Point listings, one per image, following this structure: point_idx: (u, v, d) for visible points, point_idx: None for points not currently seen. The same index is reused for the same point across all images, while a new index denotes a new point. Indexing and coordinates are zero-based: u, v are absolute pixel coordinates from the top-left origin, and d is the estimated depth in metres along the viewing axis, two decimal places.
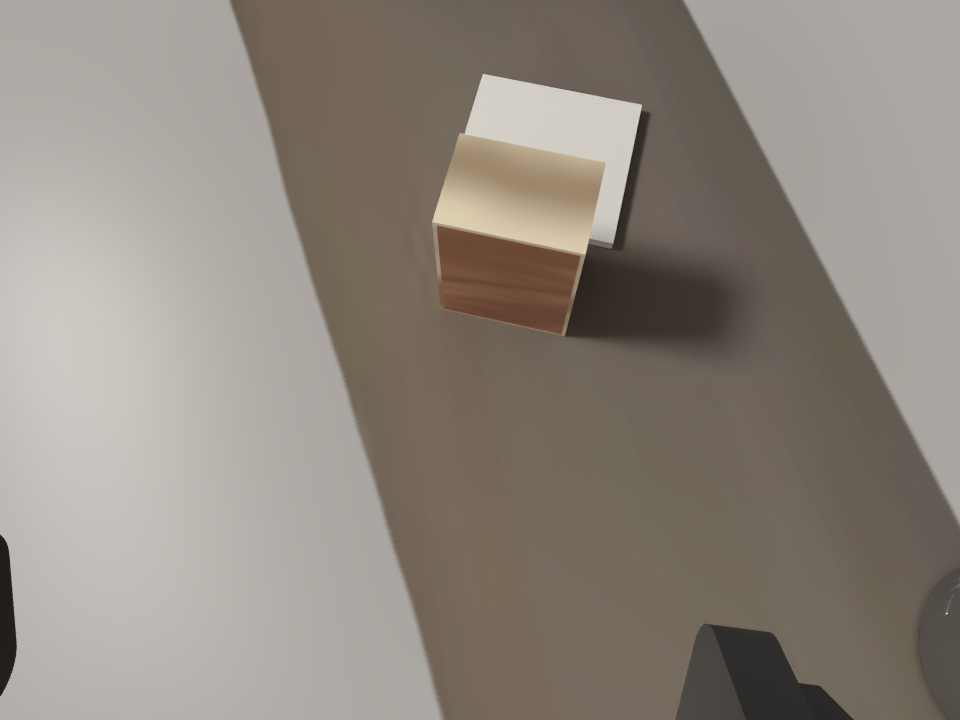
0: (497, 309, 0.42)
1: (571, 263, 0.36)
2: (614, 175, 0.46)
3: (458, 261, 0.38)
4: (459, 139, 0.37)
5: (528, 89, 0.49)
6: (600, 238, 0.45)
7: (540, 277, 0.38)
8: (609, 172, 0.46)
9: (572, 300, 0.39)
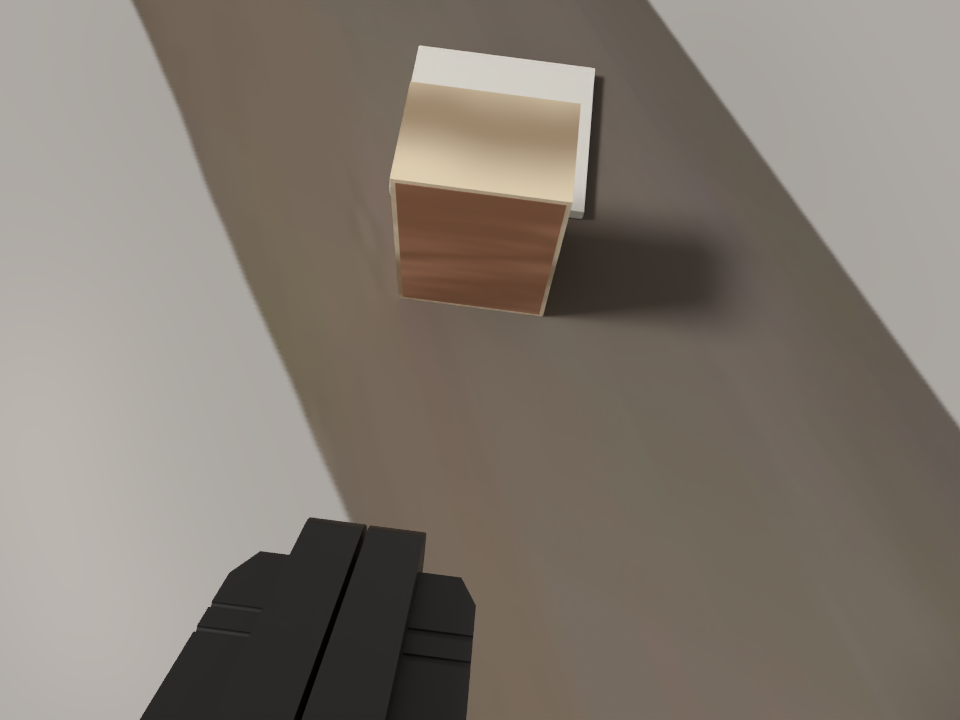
0: (466, 290, 0.37)
1: (555, 217, 0.31)
2: None
3: (420, 230, 0.33)
4: (411, 88, 0.32)
5: (470, 58, 0.44)
6: None
7: (518, 240, 0.32)
8: None
9: (553, 267, 0.34)
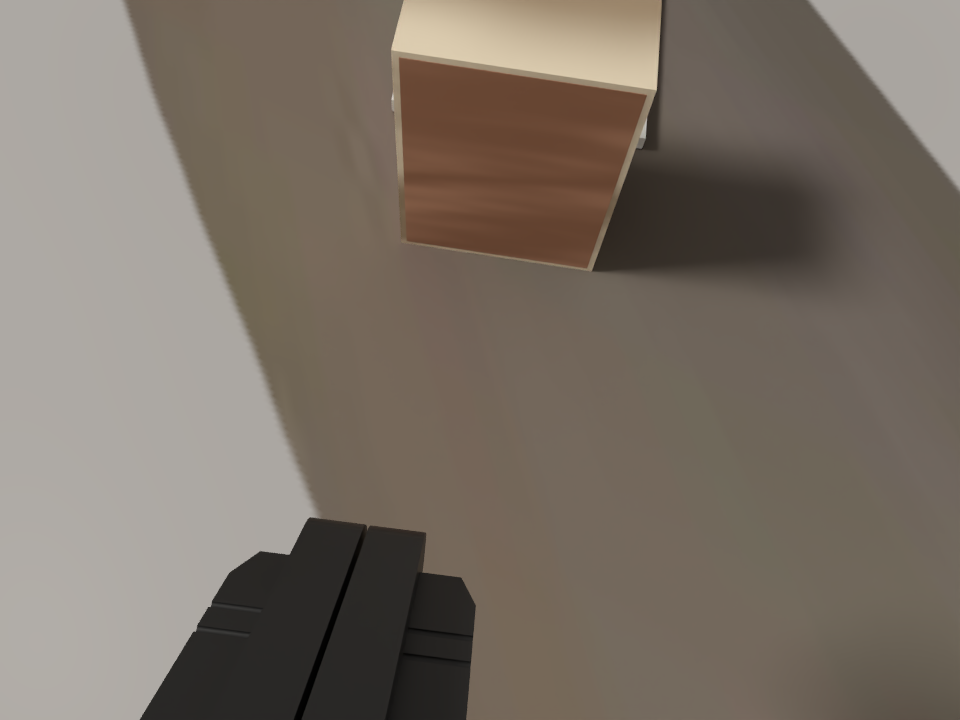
0: (491, 232, 0.27)
1: (627, 116, 0.21)
2: None
3: (433, 137, 0.23)
4: None
5: None
6: None
7: (570, 154, 0.23)
8: None
9: (615, 197, 0.25)
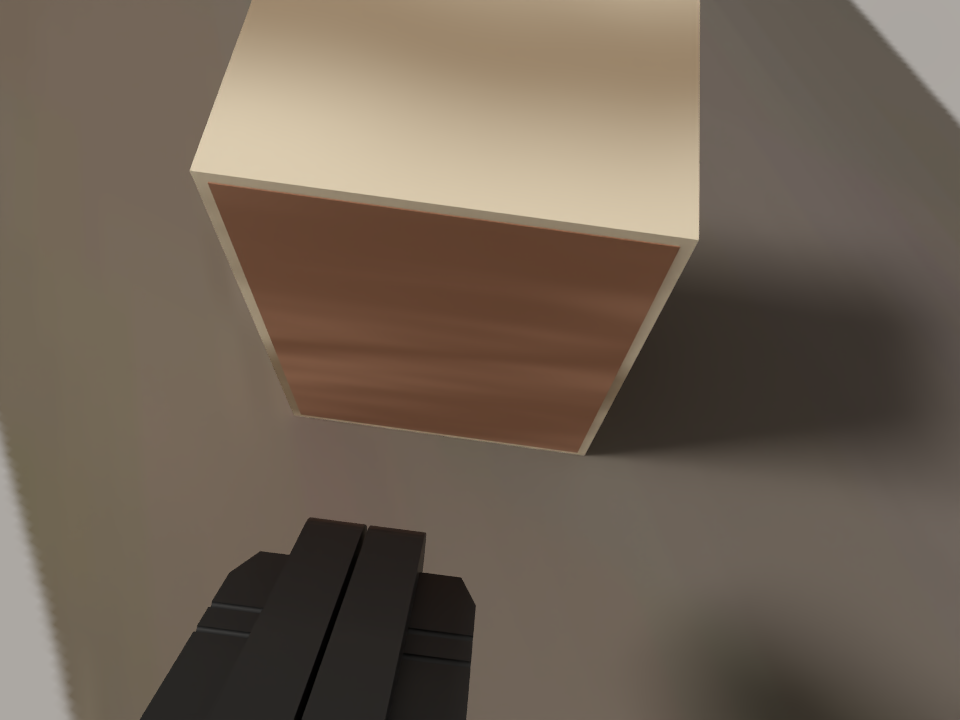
0: (426, 411, 0.17)
1: (642, 277, 0.12)
2: None
3: (305, 298, 0.14)
4: None
5: None
6: None
7: (541, 325, 0.13)
8: None
9: (621, 379, 0.15)
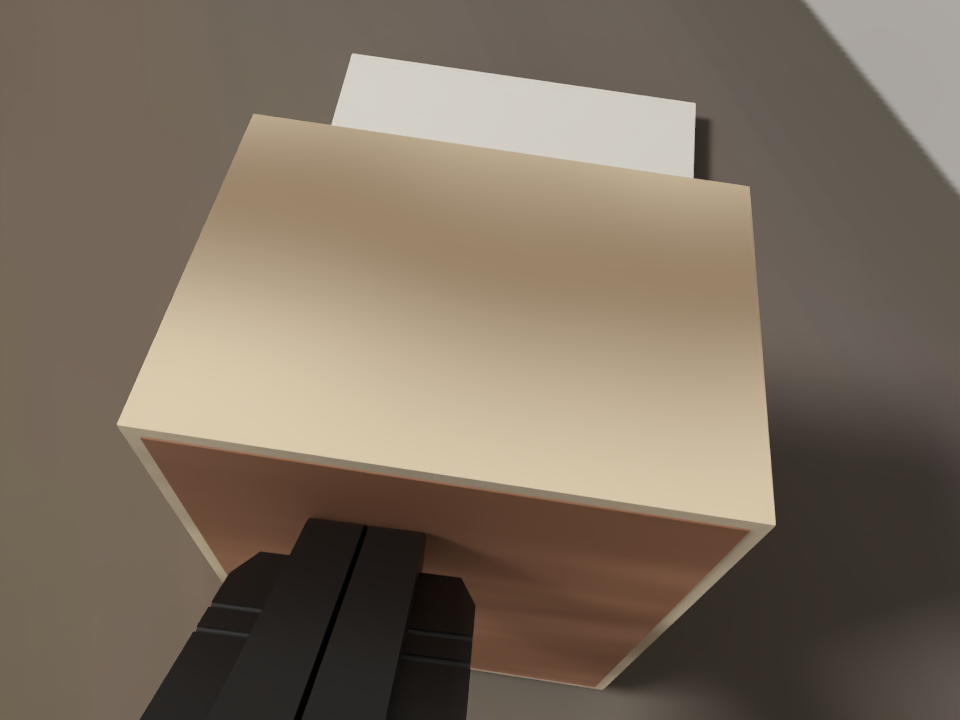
0: None
1: (695, 552, 0.09)
2: None
3: (268, 544, 0.11)
4: (251, 131, 0.11)
5: (452, 81, 0.22)
6: None
7: (561, 585, 0.11)
8: None
9: (655, 634, 0.12)
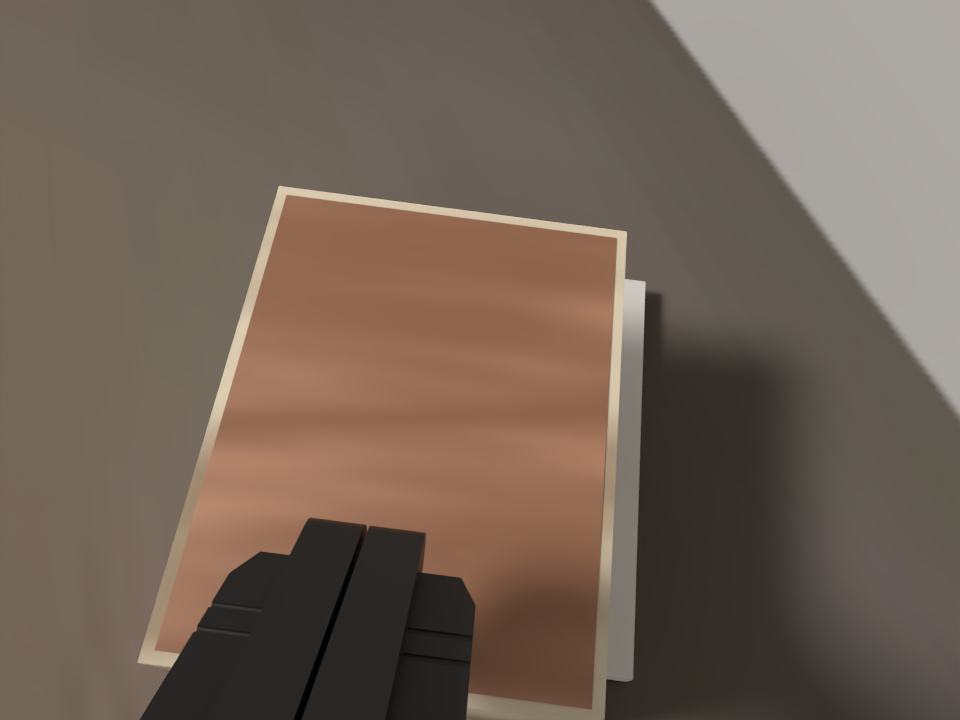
0: None
1: (598, 273, 0.15)
2: None
3: (301, 327, 0.14)
4: None
5: None
6: None
7: (523, 347, 0.14)
8: None
9: (612, 447, 0.14)
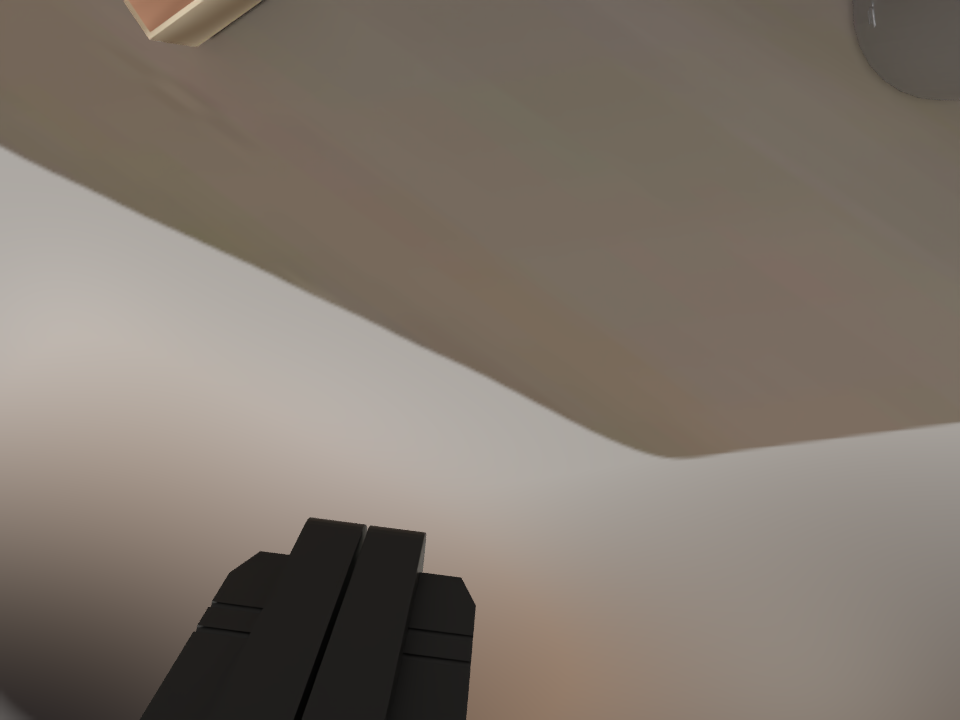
0: None
1: None
2: None
3: None
4: None
5: None
6: None
7: None
8: None
9: None
